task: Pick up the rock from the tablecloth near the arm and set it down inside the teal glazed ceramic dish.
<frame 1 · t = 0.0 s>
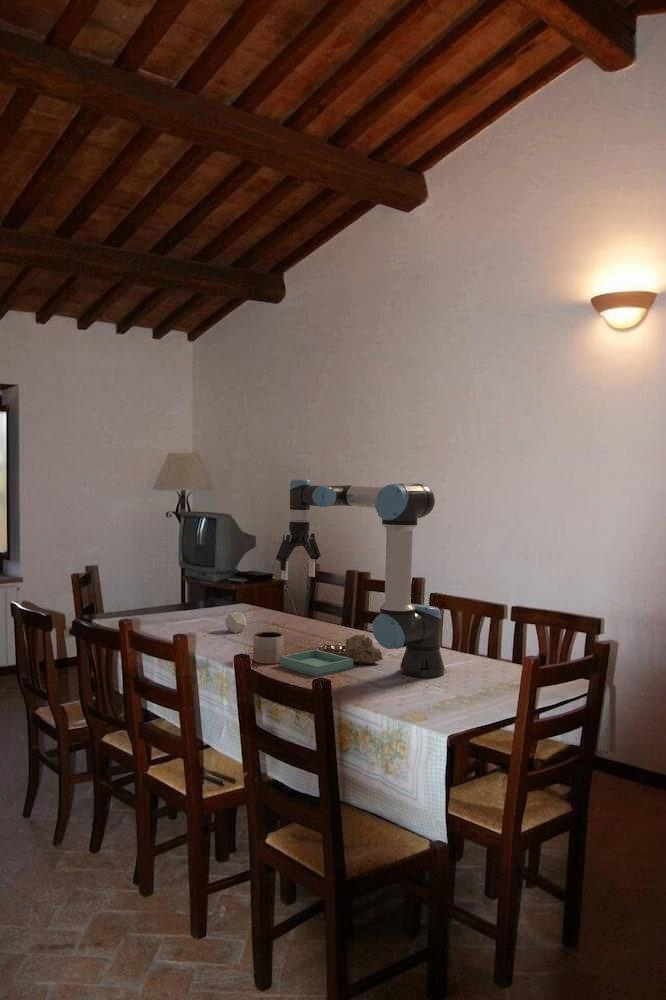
hand: (298, 578, 311), 28 cm above the table, fingers open, 13 cm apart
planter: (268, 661, 298), on the table
glazed dish: (316, 667, 290), on the table
rock: (361, 662, 300), on the table
die: (235, 632, 347), on the table
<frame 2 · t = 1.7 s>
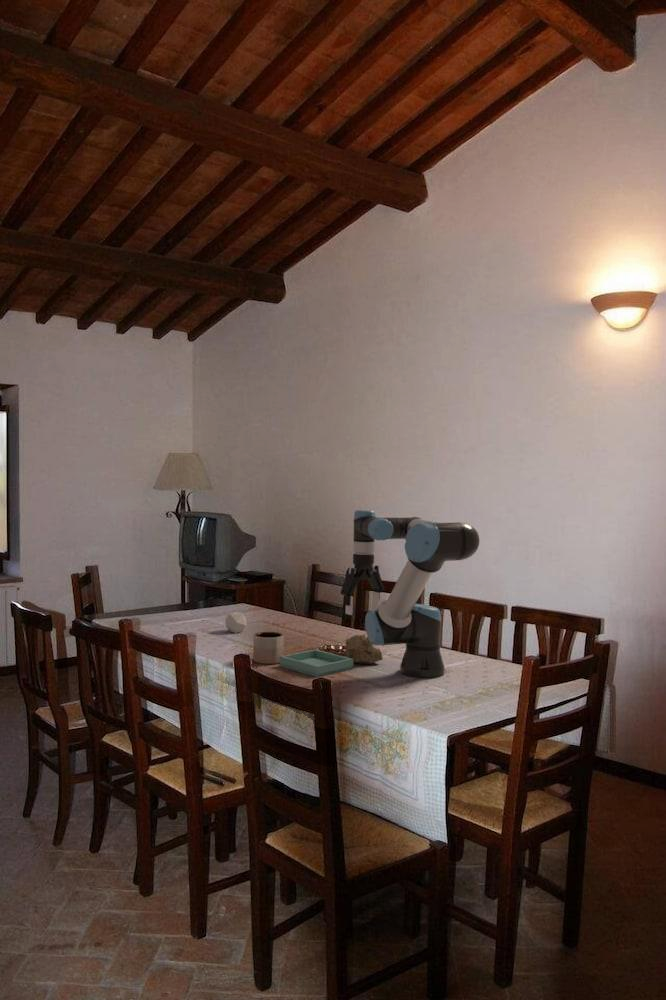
hand: (362, 612, 299), 18 cm above the table, fingers open, 13 cm apart
nothing on the table moved.
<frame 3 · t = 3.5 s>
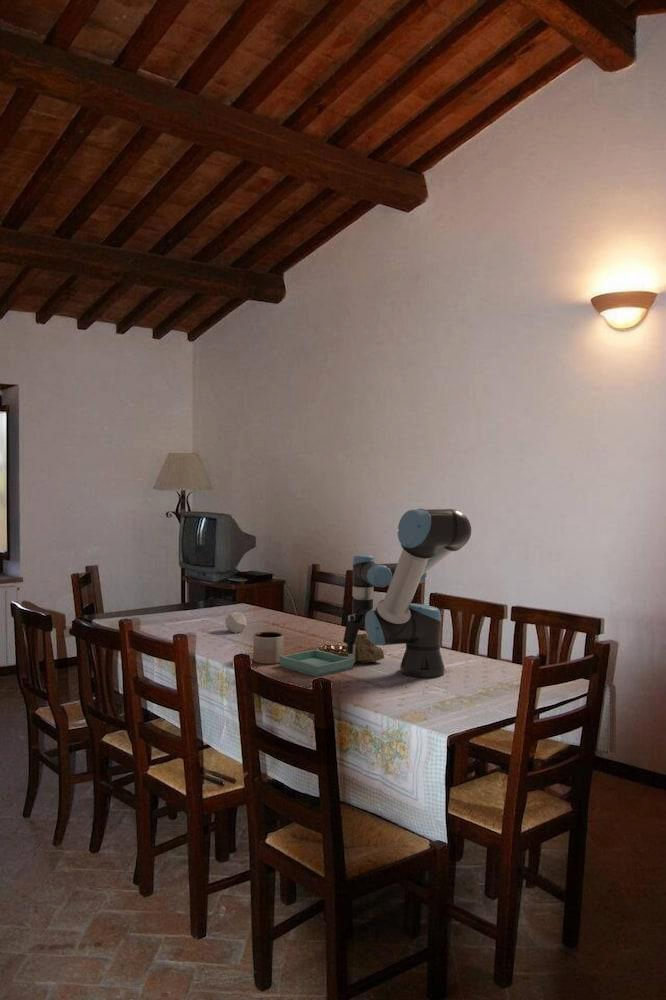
hand: (361, 660, 300), 1 cm above the table, fingers closed on rock, 9 cm apart
rock: (362, 661, 301), on the table, touching gripper
everything else where it was.
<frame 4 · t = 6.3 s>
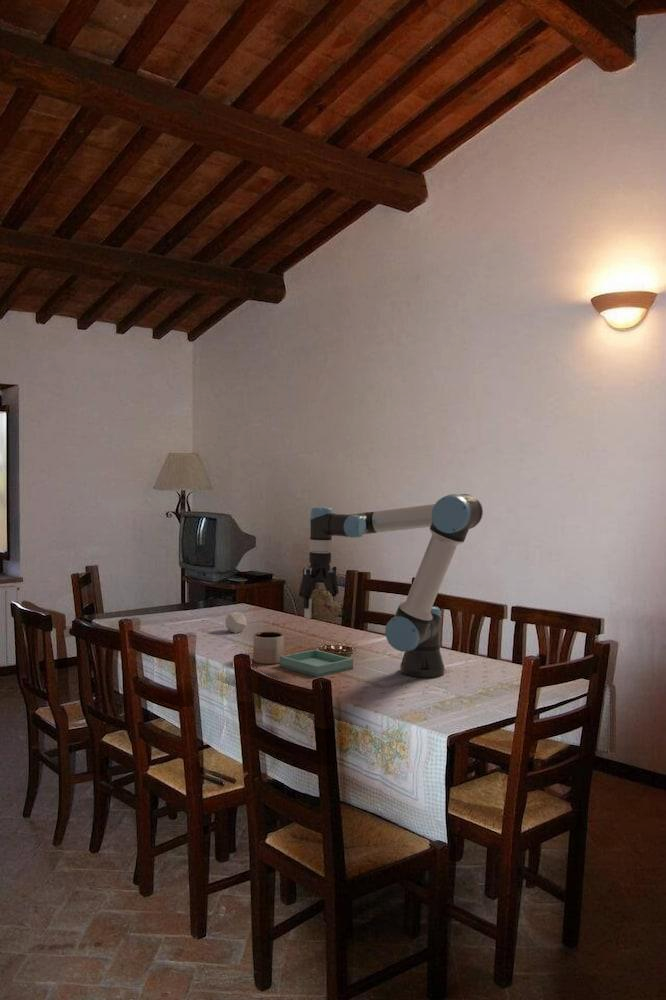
hand: (318, 616, 290), 18 cm above the table, fingers closed on rock, 9 cm apart
rock: (319, 617, 291), point 17 cm above the table, touching gripper
everything else where it was.
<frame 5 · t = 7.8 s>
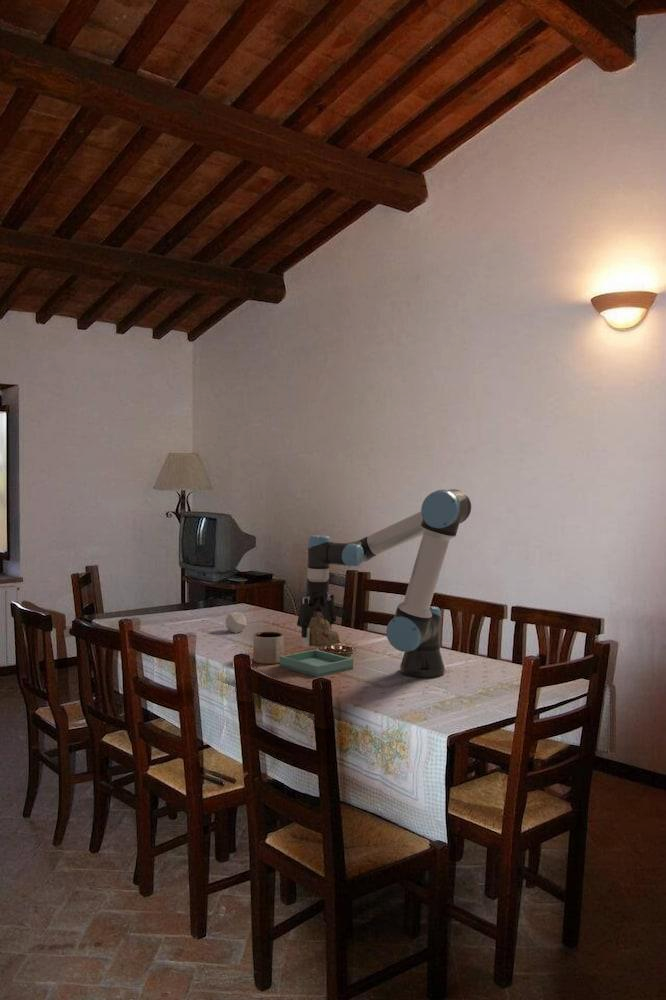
hand: (316, 644, 289), 8 cm above the table, fingers closed on rock, 9 cm apart
rock: (317, 645, 291), point 7 cm above the table, touching gripper
everything else where it was.
when the fingers open (4 cm above the table, at t = 8.9 s): rock drops 3 cm, resting on glazed dish.
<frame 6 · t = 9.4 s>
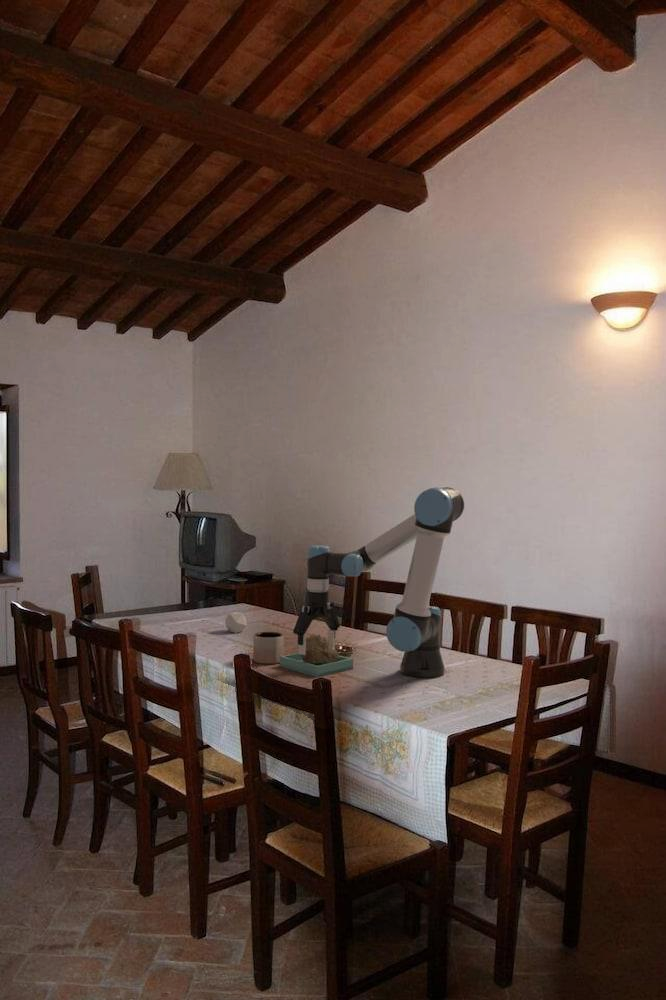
hand: (316, 651, 289), 6 cm above the table, fingers open, 13 cm apart
rock: (317, 664, 291), point 1 cm above the table, touching glazed dish
everything else where it was.
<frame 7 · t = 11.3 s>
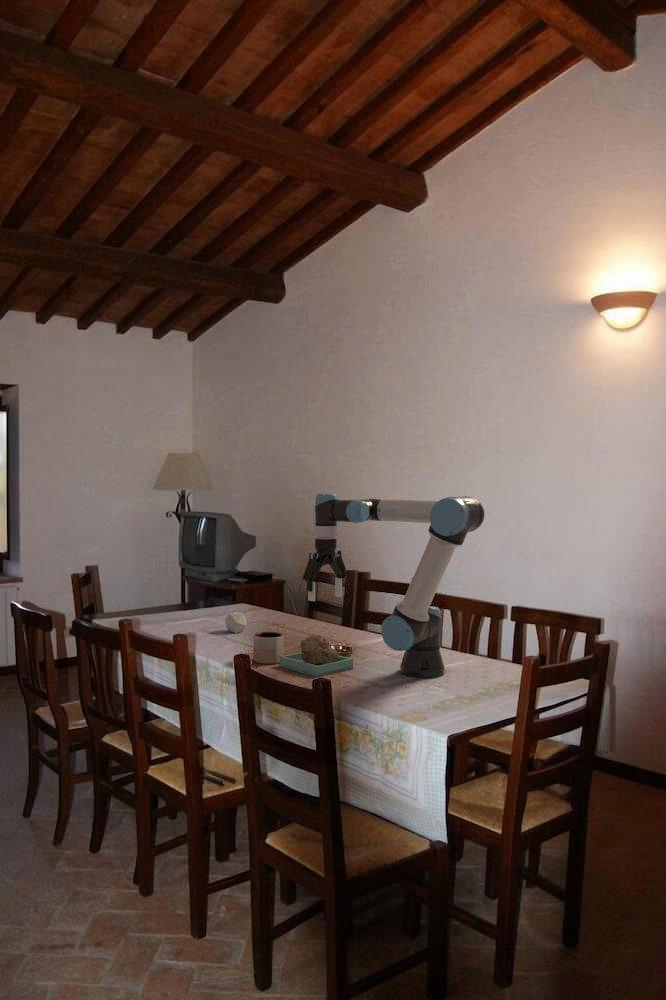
hand: (325, 598, 292), 24 cm above the table, fingers open, 13 cm apart
nothing on the table moved.
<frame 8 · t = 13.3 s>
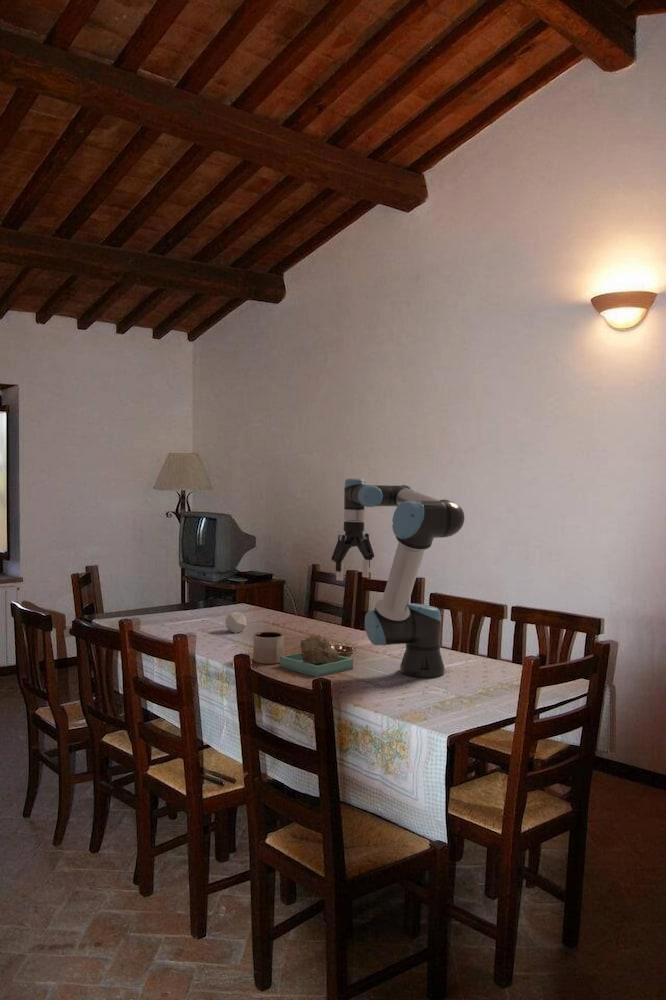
hand: (352, 578, 306), 29 cm above the table, fingers open, 13 cm apart
nothing on the table moved.
at the end: rock inside the target area on the glazed dish (1.0 cm from its centre), point 1.0 cm above the glazed dish's base; the gripper is holding nothing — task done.
